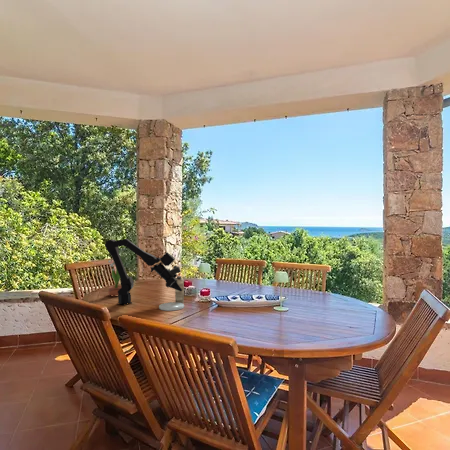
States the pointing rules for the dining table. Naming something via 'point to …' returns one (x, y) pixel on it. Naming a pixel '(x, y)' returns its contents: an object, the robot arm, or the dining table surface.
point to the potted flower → (114, 289)
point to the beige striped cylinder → (179, 294)
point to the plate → (171, 306)
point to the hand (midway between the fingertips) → (181, 289)
